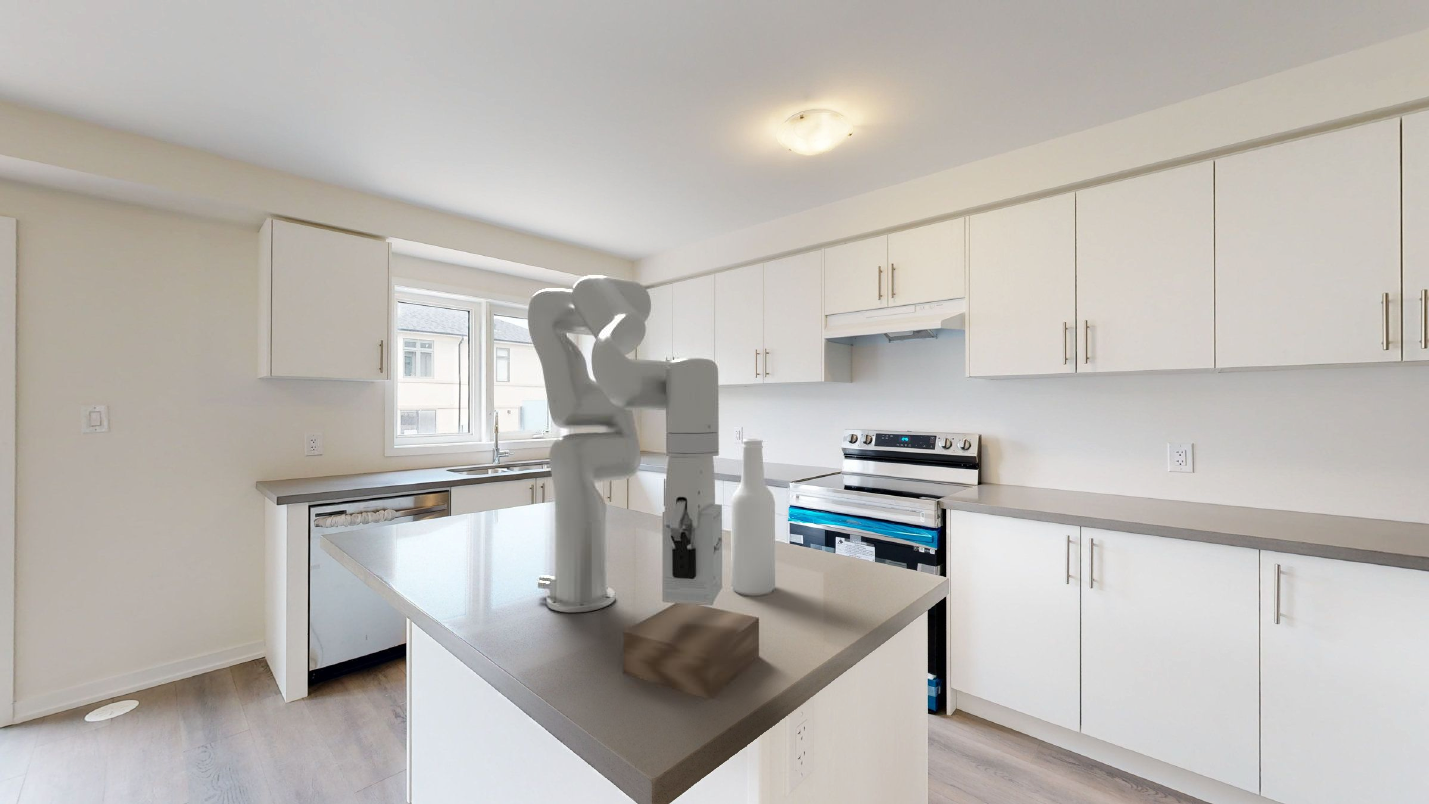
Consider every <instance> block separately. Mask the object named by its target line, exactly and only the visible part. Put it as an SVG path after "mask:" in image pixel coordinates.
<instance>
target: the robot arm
mask: <svg viewBox="0 0 1429 804" xmlns="http://www.w3.org/2000/svg"><path fill="white" fill-rule="evenodd" d="M527 310H528V311H527V326H528V331H529V332H528V333H529V336H530V339H531V342H532V345H533V347H534V349H535V351H536V354H537V356H538V359H539V362H540V364H541V367H542V369H541V370H542V373H543V381H544V387H545V391H546V398H547V404H548V409H549V415H550V417H551V421H552V422H553V423H554V425H555V426H557V427H558V428H560V429H565V430H566V429H567V430H583V429H584V430H585V429H586V430H588V429H592V430H593V429H601V430H602V432H597V431H596V432H576V433H570V434H569V433H568V434H565V435H562V436H560V437H558V438H557V439H555V440H554V442H553V443H552V445H551V447H550V449H549V455H548V459H549V460H548V461H549V468H550V473H551V477H552V483H553V484H552V486H553V495H554V576H553V575H548V574H541V575H540V576H539V578H538V583H537V588H538V589H542V590H543V589H544V590H545V589H547V590H548V591H549V594H548V595H547V596H546V599H545V600H546V601H545V602H546V606H547V607H548V608H549V609H551V610H554V611H555V612H561V613H582V612H583V613H584V612H591V611H595V610H599V609H603V608H605V607H608V606H609V605H611V604H612V603H614V601H615V600H616V592H615V590H614V589H612V588H611V587H609V586H608V540H607V539H608V530H607V529H608V523H607V522H608V517H607V515H608V514H607V510H608V509H607V504H606V501H605V499H604V497H603V495H602V494H601V493H600V492H599V490H598V489H597V486H596V484H597V483H602V482H611V481H613V482H614V481H622V480H627V479H631V478H632V477H634V476H636V474H637V473H638V472H639V470H640V466H641V459H642V455H641V447H640V441H639V436H638V430H637V426H636V421H635V417H634V413H633V411H644V410H645V411H647V410H650V411H655V410H656V411H665V436H666V437H665V442H666V443H665V446H666V448H665V449H666V451H665V452H666V453H665V455H666V457H668V458H667V459H668V461H667V467H666V475H665V493H664V511H665V512H664V511H663V512H664V524H665V526H666V527H667V528H670V530H671V533H672V534H671V538H672V575H673V577H674V578H685V579H694V578H695V577H696V548H693V545H694V538H695V529H697V528H699V527H700V518H701V512H703V511H704V510H706V509H708V508H709V507H711V506H712V505H714V504H716V482H715V481H716V479H715V464H714V463H715V461H714V457H718V456H719V455H720V448H719V447H720V442H719V441H720V436H719V435H720V431H719V429H720V428H719V427H720V426H719V425H720V424H719V423H720V421H719V410H720V409H719V404H720V403H719V368H718V365H717V363H716V362H715V361H713V360H712V359H708V358H701V357H700V358H699V357H698V358H697V357H695V358H694V357H686V358H676V359H672V360H671V361H666V360H665V361H663V360H657V359H654V360H652V359H638V358H637V359H636V358H635V359H634V358H633V359H632V358H629V357H627V355H629V354H630V353H632V352H633V351H635V350H636V349H637V348H638V347H639V346H640V345H641V344H642V342H643V340H644V339H645V335H646V331H647V329H646V323H645V322H646V321H647V320H648V318H649V316H650V314H651V310H652V301H651V296H650V294H649V291H648V290H647V289H646V288H645V286H643V284H641V283H640V282H639V281H638V282H637V281H635V280H629V279H623V278H620V277H619V278H618V277H611V276H607V275H606V276H605V275H598V274H597V275H596V274H594V275H587V276H583V277H582V278H580V279H579V280H578V281H577V282H575V284H574V285H573V287H572V289H566V288H545V289H542V290H539V291H537V292H536V293H534V294H533V296H532V297H531V299H530V301H529V304H528V308H527ZM567 334H574V335H581V336H582V335H585V336H593V337H594V339H595V341H594V343H593V346H592V350H591V357H590V358H591V361H590V362H591V369H592V374H593V375H592V376H593V377H594V380H593V379H591V377H590V375H589V371H588V366H587V361H586V358H585V356H584V354H583V353H582V351H581V350H580V348H579V347H578V346H577V344H575V342H573V340H572V339H570V338H569V337H568V335H567ZM686 512H687V513H688V515H689V518H690V519H692V524H691V525H683V521H684V518H685V514H686ZM668 525H670V527H669V526H668ZM683 531H689V536H688V537H687V534H686V532H683Z"/></svg>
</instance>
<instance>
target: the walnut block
mask: <svg viewBox="0 0 1429 804" xmlns="http://www.w3.org/2000/svg"><path fill="white" fill-rule="evenodd" d="M622 633H623V635H622V642H623V643H622V656H623V657H622V666H623V667H622V673H623V674H625V675H629V676H632V677H635V678H638V679H641V680H645V681H647V682H652V683H655V684H657V685H658V684H659V685H661V686H665V687H668V688H670V689H674V690H678V691H681V692H685V693H687V694H691V695H693V696H697V697H700V698H703V699H707V700H712V699H713V698H714V697H715V696H716V695H717V694H719V692H721V691H722V690H723V689H724V688H725V687H726V686H727V685H728V684H730V683H731V682H732V681H733V680H734V679H735V678H737V677H738V676H739V675H740V674H741V673H742V672H743V671H745V669H747V668H748V667H749V666H750V665H751V664H752V663H753V662H754V661H755V660H757V659H758V657H759V656H760V618H759V617H758V616H754V615H748V614H744V613H739V612H734V611H729V610H724V609H719V608H715V607H711V606H707V605H695V604H681V603H672V604H671V605H669V606H668V607H666V608H663V610H661V611H658V612H657V613H655V614H653V615H651V616H649V617H648V618H645V619H644V620H642V621H640V622H638V623H636V624H634V625H633V626H631V627H629V628H627V629H626V630H623V631H622Z"/></svg>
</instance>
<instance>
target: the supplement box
mask: <svg viewBox="0 0 1429 804" xmlns="http://www.w3.org/2000/svg"><path fill="white" fill-rule="evenodd" d="M664 512H665V510H664V511H662V521H661V522H662V526H661V527H662V530H661V531H662V532H661V533H662V536H661V537H662V557H661V558H662V561H661V562H662V565H661V567H662V578H661V579H662V581H661V582H662V602H663V603H671V604H675V603H681V604H695V605H702V606H713V605H714V604H715V601H716V599H717V597H718V595H719V594H720V592H721V590H722V589H723V505H722V504H720V503H719V504H718V503H715V504H714V505H712V506H711V507H709V508H708V509H706V510H704V511H703V512H701V518H700V527H699V528H697V529H695V538H694V545H693V548H696V577H695V578H694V579H685V578H674V577H673V575H672V538H671V534H672V533H671V530H670V528H667V527H666V526H665V524H664ZM691 524H692V519H690V518H689V515H688V513H687V512H686V514H685V518H684V521H683V525H691ZM668 526H669V527H670V525H668ZM683 532H686V534H687V537H688V536H689V531H683Z"/></svg>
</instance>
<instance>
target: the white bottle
mask: <svg viewBox="0 0 1429 804" xmlns="http://www.w3.org/2000/svg"><path fill="white" fill-rule="evenodd" d="M763 442H764V441H763V439H761V438H760V439H759V438H744V439H743V440H742V443H743V445H742V449H743V451H742V463H741V466H742V467H741V477H740V478H741V479H740V483H739V486H738V487H737V488H736V490H734V493H733V494H732V497H731V501H730V572H731V573H730V576H731V577H730V584H731V585H730V586H731V587H732V589H733V591H734V592H736V593H737V594H739V595H743V596H750V597H751V596H752V597H759V596H766V595H768V594H771V593H772V592H773V591H774V589H775V587H776V502H775V498H774V495H773V492H771V490H770V489H769V488H768V486H767V484H766V481H765V471H764V470H765V469H764V458H763V456H764V455H763V448H764V446H763Z"/></svg>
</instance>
